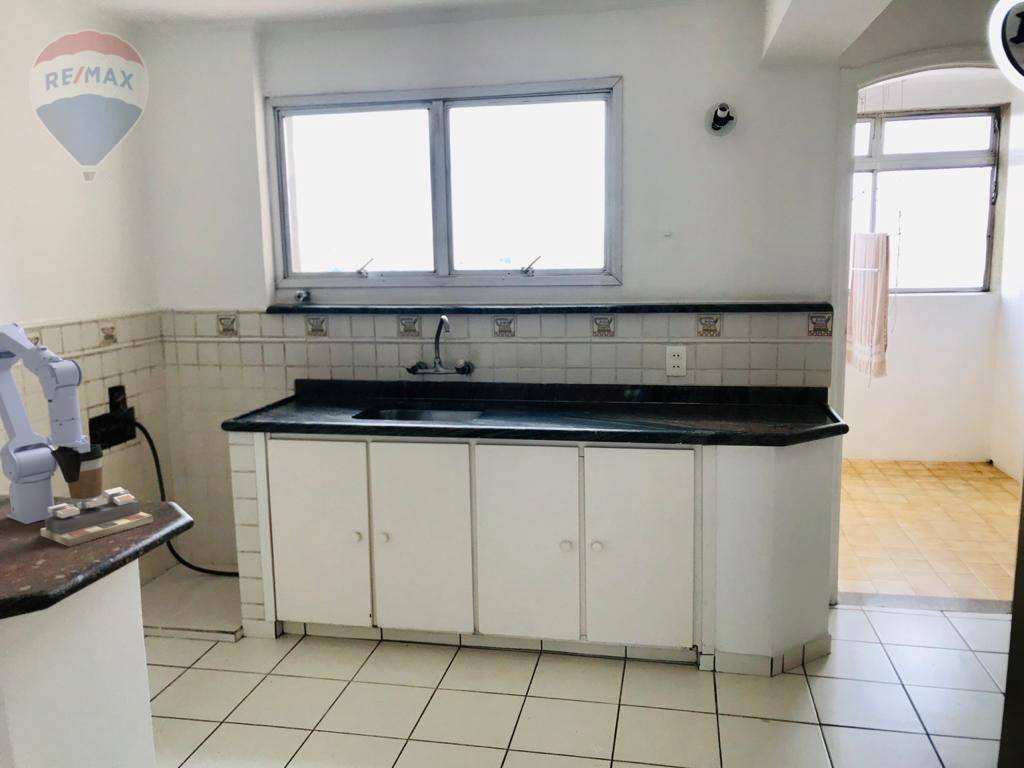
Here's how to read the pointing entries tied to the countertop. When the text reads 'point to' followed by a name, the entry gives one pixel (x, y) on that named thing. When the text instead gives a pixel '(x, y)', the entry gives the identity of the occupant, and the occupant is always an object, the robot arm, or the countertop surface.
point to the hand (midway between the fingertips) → (72, 481)
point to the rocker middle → (92, 503)
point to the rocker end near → (63, 510)
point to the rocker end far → (119, 496)
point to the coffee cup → (88, 477)
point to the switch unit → (94, 523)
